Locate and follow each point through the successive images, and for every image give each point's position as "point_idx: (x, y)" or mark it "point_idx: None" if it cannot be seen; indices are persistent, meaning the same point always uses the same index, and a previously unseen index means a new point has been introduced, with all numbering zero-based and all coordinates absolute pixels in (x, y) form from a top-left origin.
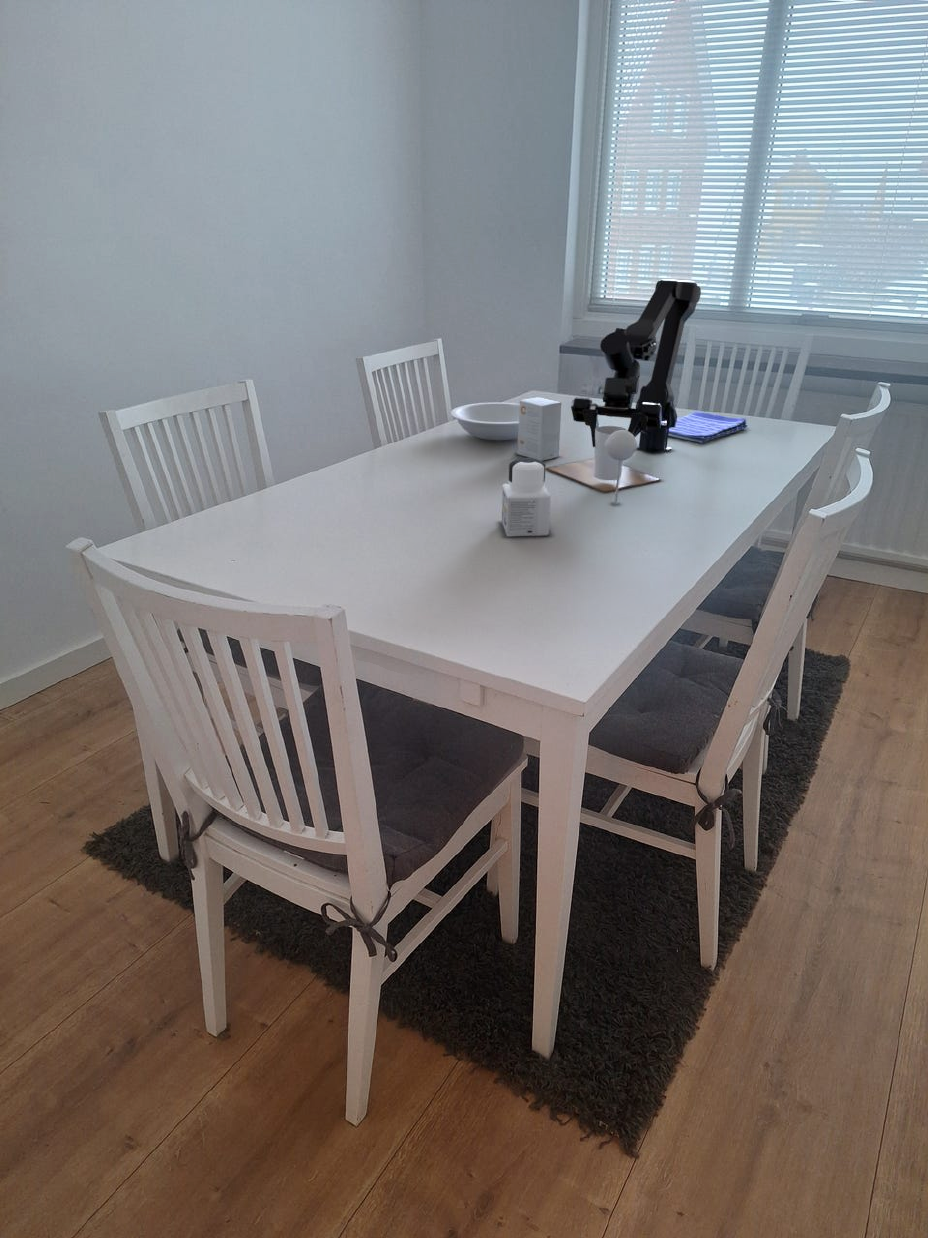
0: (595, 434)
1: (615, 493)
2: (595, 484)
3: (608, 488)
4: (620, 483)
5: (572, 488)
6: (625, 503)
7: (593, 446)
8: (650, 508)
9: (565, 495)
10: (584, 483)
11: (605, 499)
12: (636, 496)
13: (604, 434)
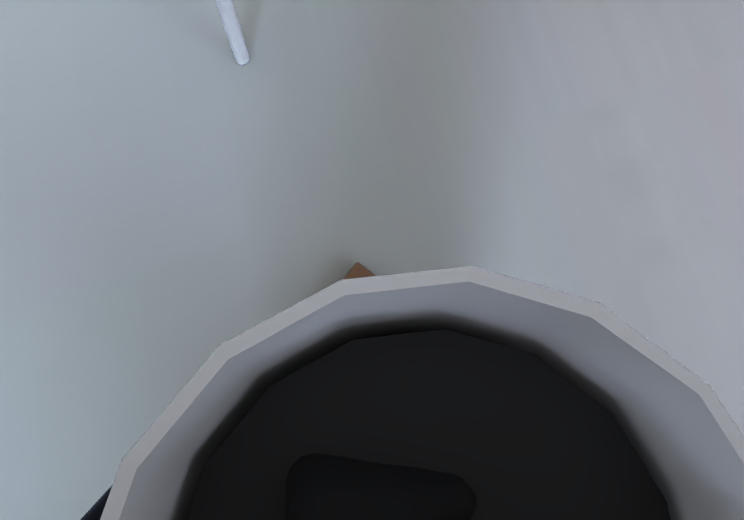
0: (710, 469)
1: (236, 14)
2: None
3: None
4: None
5: (586, 283)
6: (184, 100)
7: None
8: (18, 60)
9: (582, 124)
10: None
11: (321, 133)
12: (127, 265)
13: (512, 281)
